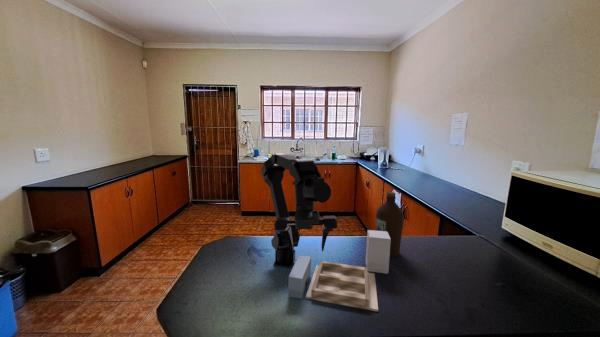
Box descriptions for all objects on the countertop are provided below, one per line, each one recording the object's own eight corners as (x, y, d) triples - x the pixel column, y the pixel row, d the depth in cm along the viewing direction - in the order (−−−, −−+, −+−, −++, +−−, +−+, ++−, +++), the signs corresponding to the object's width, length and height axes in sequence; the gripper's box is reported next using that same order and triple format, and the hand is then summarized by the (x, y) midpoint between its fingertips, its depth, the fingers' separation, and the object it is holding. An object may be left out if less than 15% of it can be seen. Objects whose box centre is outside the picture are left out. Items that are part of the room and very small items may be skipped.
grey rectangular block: (288, 297, 70) (288, 276, 69) (299, 273, 82) (299, 255, 81) (301, 299, 69) (302, 278, 68) (310, 275, 81) (311, 256, 80)
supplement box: (388, 274, 83) (391, 239, 81) (366, 271, 84) (368, 237, 83) (385, 263, 90) (387, 231, 88) (365, 261, 91) (367, 229, 90)
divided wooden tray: (305, 298, 69) (306, 289, 69) (316, 266, 87) (316, 259, 86) (378, 311, 65) (378, 302, 64) (374, 275, 82) (374, 267, 82)
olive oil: (390, 245, 106) (394, 189, 103) (406, 256, 95) (411, 195, 92) (368, 247, 103) (372, 190, 100) (382, 259, 93) (387, 196, 90)
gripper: (268, 204, 67) (271, 261, 66) (336, 202, 65) (340, 260, 65) (276, 200, 78) (279, 248, 77) (334, 197, 76) (337, 247, 76)
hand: (307, 250), depth 73 cm, fingers open, 9 cm apart
